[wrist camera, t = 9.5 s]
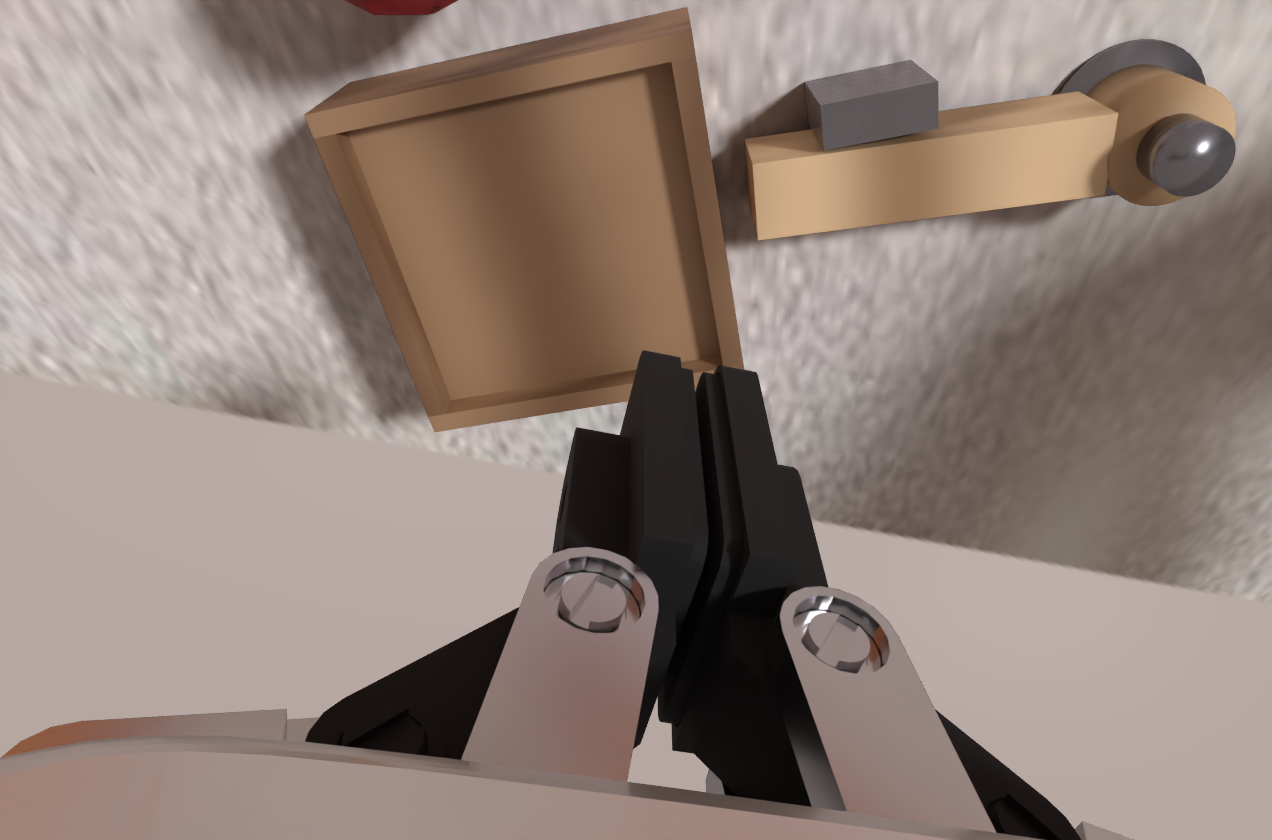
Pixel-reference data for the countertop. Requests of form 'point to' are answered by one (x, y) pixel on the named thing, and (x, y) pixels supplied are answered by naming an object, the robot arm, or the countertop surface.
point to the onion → (401, 6)
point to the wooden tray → (538, 218)
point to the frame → (1167, 155)
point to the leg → (977, 158)
